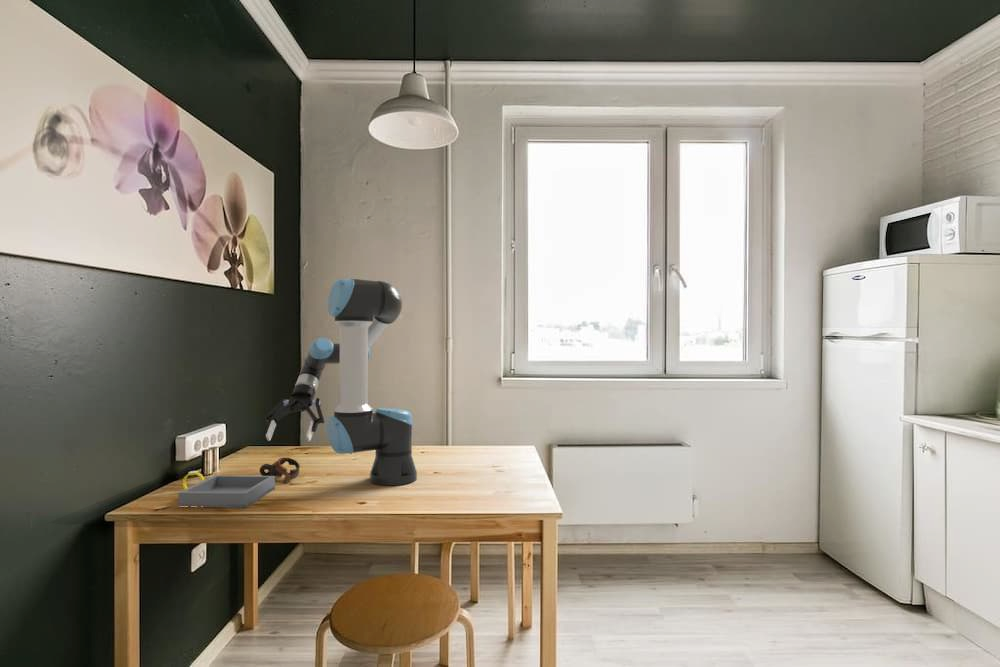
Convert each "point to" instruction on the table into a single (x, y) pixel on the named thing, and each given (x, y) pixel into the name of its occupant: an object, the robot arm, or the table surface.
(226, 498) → the tray
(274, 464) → the broken clay jug
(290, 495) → the table surface
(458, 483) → the table surface
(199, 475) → the watch
